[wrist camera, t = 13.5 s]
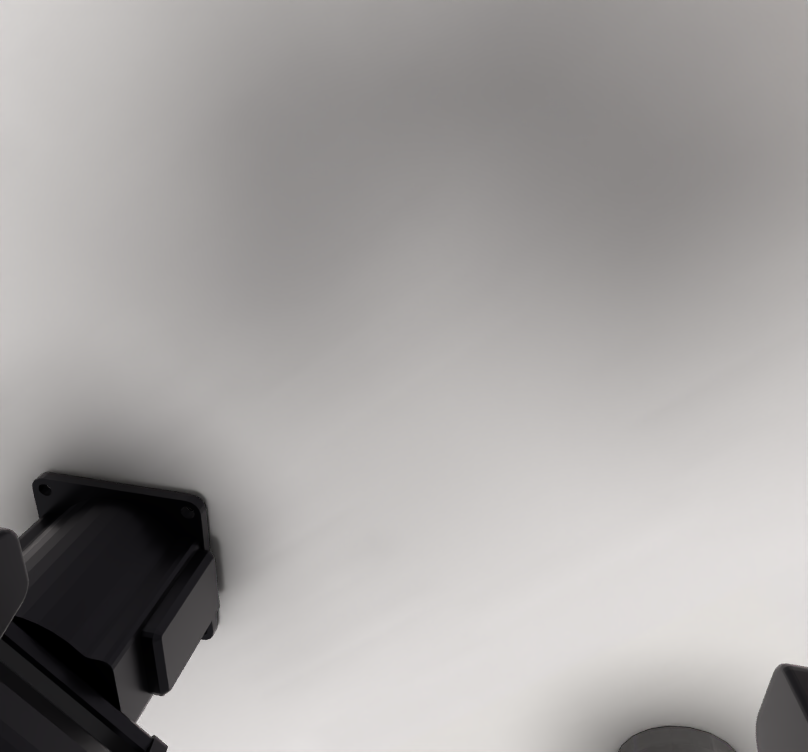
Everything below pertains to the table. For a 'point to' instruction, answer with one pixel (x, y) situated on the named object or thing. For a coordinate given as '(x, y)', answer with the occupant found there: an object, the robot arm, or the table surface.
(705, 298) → the table surface
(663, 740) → the beverage cup
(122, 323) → the table surface
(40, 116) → the table surface
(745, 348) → the table surface
